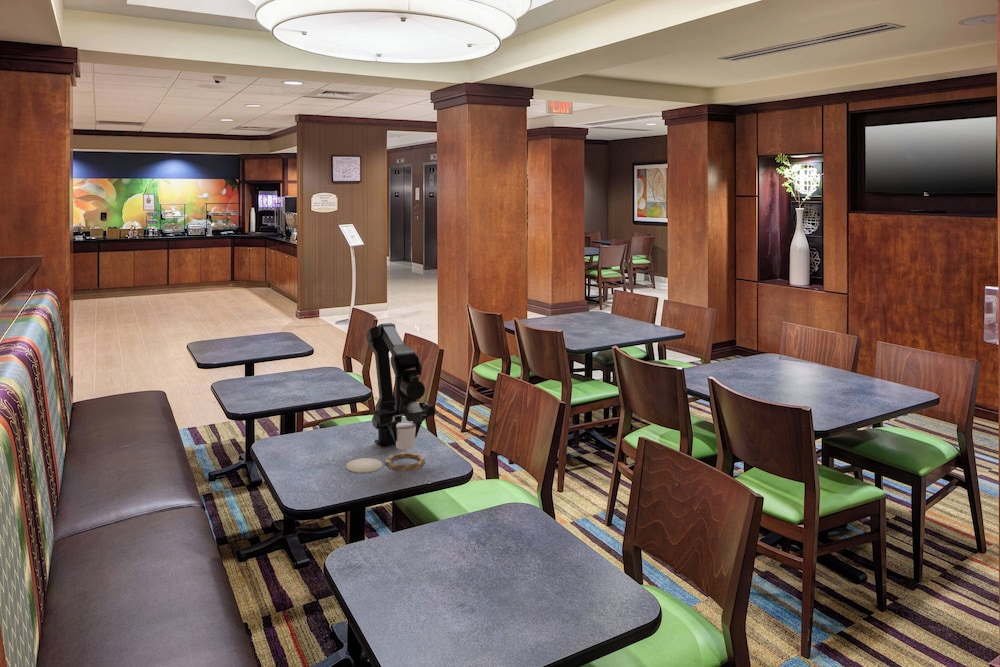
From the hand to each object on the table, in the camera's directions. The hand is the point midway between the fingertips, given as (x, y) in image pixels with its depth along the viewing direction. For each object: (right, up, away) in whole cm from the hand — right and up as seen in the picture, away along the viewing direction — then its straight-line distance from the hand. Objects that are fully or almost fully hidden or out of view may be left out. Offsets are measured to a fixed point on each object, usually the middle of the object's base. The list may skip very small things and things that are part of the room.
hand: (405, 439), depth 223 cm
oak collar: (0, -8, +2) cm, 8 cm away
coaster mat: (-12, -8, -1) cm, 15 cm away
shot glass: (0, -3, 0) cm, 3 cm away
